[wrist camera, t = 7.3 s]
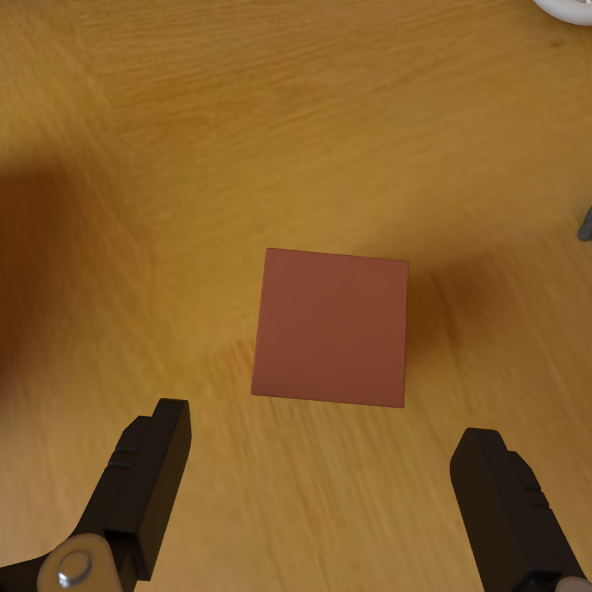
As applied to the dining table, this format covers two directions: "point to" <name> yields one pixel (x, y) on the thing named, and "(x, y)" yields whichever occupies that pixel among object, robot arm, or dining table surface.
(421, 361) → the dining table surface
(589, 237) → the grey toy animal
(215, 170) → the dining table surface
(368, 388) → the reddish brown block
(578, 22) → the ring around a ball
